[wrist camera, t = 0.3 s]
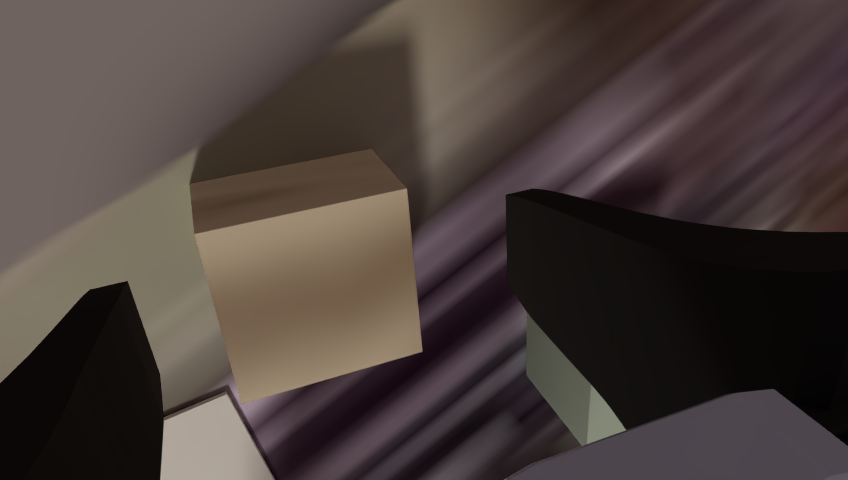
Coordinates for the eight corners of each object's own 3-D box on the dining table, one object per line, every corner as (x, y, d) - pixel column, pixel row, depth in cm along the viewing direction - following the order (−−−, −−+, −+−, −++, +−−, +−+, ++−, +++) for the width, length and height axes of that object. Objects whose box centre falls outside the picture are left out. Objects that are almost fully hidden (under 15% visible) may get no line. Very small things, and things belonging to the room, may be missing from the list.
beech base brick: (387, 293, 25) (422, 351, 21) (230, 333, 23) (241, 404, 20) (369, 146, 22) (406, 188, 19) (189, 181, 20) (194, 233, 17)
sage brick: (601, 351, 30) (671, 421, 26) (525, 374, 29) (586, 450, 25) (607, 279, 28) (683, 342, 24) (526, 300, 27) (592, 370, 23)
